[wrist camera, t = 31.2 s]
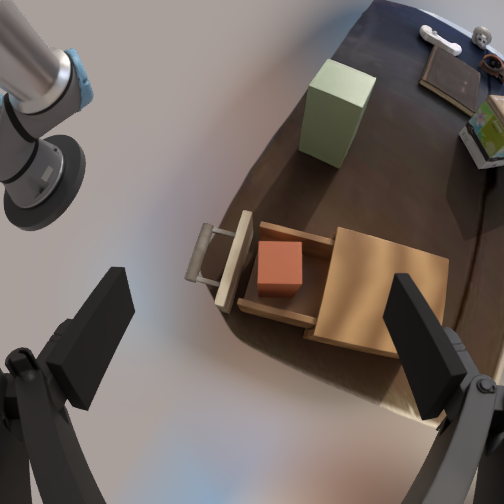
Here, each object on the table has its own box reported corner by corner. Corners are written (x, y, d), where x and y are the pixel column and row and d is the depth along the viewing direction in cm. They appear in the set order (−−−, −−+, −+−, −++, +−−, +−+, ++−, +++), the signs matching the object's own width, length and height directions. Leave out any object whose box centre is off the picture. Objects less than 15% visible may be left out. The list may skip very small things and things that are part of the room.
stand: (339, 169, 52) (362, 108, 37) (298, 150, 54) (308, 85, 38) (353, 138, 54) (376, 78, 39) (315, 121, 56) (327, 58, 40)
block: (258, 297, 44) (257, 283, 35) (259, 262, 45) (258, 240, 36) (293, 297, 44) (302, 284, 35) (293, 263, 45) (301, 241, 36)
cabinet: (302, 338, 44) (313, 335, 35) (323, 250, 48) (337, 226, 39) (404, 359, 42) (435, 360, 33) (418, 276, 46) (449, 259, 37)
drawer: (188, 301, 45) (173, 292, 38) (213, 223, 49) (205, 201, 41) (327, 339, 43) (340, 337, 35) (345, 257, 46) (360, 240, 39)
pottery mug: (505, 91, 62) (508, 75, 55) (479, 85, 67) (480, 68, 60) (502, 65, 62) (503, 49, 55) (478, 60, 67) (477, 43, 61)
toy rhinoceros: (467, 46, 68) (475, 29, 59) (470, 36, 70) (478, 20, 62) (484, 58, 66) (493, 41, 58) (486, 47, 69) (494, 32, 61)
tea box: (478, 172, 52) (515, 134, 38) (457, 133, 55) (487, 92, 41) (513, 165, 53) (546, 132, 39) (493, 131, 56) (522, 95, 42)
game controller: (464, 46, 63) (461, 50, 59) (458, 55, 67) (456, 61, 62) (424, 21, 66) (419, 24, 61) (420, 32, 69) (414, 35, 65)
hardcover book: (477, 78, 62) (480, 73, 60) (471, 119, 57) (476, 113, 54) (431, 49, 65) (434, 44, 63) (417, 84, 60) (420, 77, 57)
